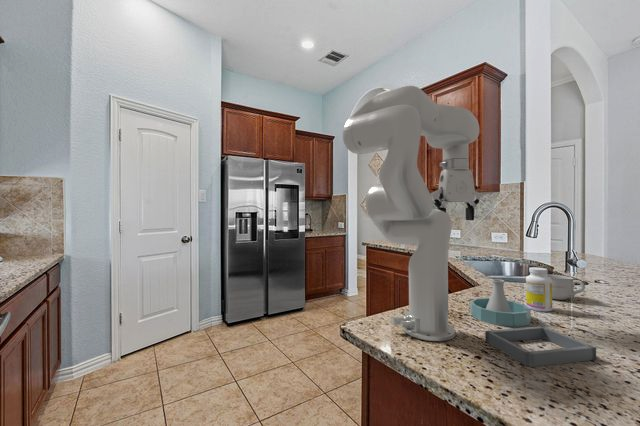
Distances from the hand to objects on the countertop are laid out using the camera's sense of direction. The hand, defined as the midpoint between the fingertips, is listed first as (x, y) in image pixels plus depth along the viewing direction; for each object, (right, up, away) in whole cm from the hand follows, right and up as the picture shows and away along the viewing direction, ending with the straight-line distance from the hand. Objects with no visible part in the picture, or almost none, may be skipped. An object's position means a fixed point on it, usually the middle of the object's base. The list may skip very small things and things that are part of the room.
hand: (456, 220), depth 93 cm
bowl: (+9, -28, -7) cm, 30 cm away
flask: (+9, -28, -7) cm, 30 cm away
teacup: (+42, -28, +11) cm, 52 cm away
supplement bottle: (+26, -28, 0) cm, 39 cm away
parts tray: (+5, -28, -28) cm, 40 cm away
